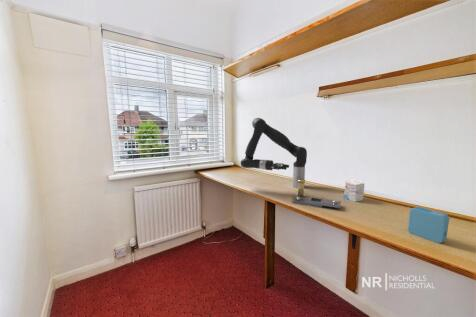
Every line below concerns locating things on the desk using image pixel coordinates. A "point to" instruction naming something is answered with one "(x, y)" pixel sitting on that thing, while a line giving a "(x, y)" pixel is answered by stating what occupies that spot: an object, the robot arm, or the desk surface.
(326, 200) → the chain ends
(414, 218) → the data package
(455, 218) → the desk surface
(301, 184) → the link pin
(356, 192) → the ink box
